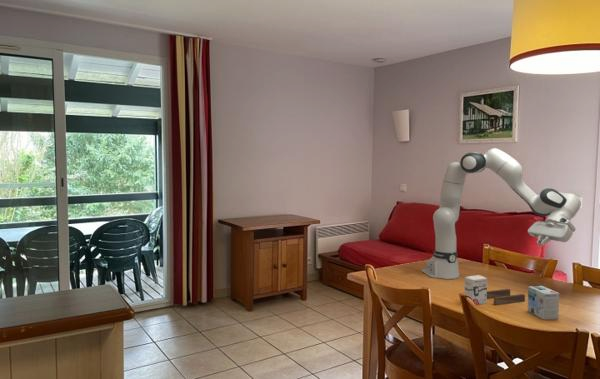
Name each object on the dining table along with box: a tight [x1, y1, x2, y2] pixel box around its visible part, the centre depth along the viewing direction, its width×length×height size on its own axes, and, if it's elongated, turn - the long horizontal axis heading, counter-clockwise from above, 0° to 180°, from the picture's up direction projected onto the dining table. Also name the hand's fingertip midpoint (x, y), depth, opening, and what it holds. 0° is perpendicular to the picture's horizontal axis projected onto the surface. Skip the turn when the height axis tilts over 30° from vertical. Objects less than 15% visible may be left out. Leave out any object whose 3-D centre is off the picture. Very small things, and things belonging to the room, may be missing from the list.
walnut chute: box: [487, 288, 526, 306], centre depth 195 cm, size 10×16×3 cm, turn 108°
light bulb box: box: [527, 285, 560, 321], centre depth 176 cm, size 11×7×11 cm, turn 5°
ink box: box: [464, 274, 488, 306], centre depth 191 cm, size 8×5×12 cm, turn 111°
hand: (539, 244), depth 201 cm, fingers closed
